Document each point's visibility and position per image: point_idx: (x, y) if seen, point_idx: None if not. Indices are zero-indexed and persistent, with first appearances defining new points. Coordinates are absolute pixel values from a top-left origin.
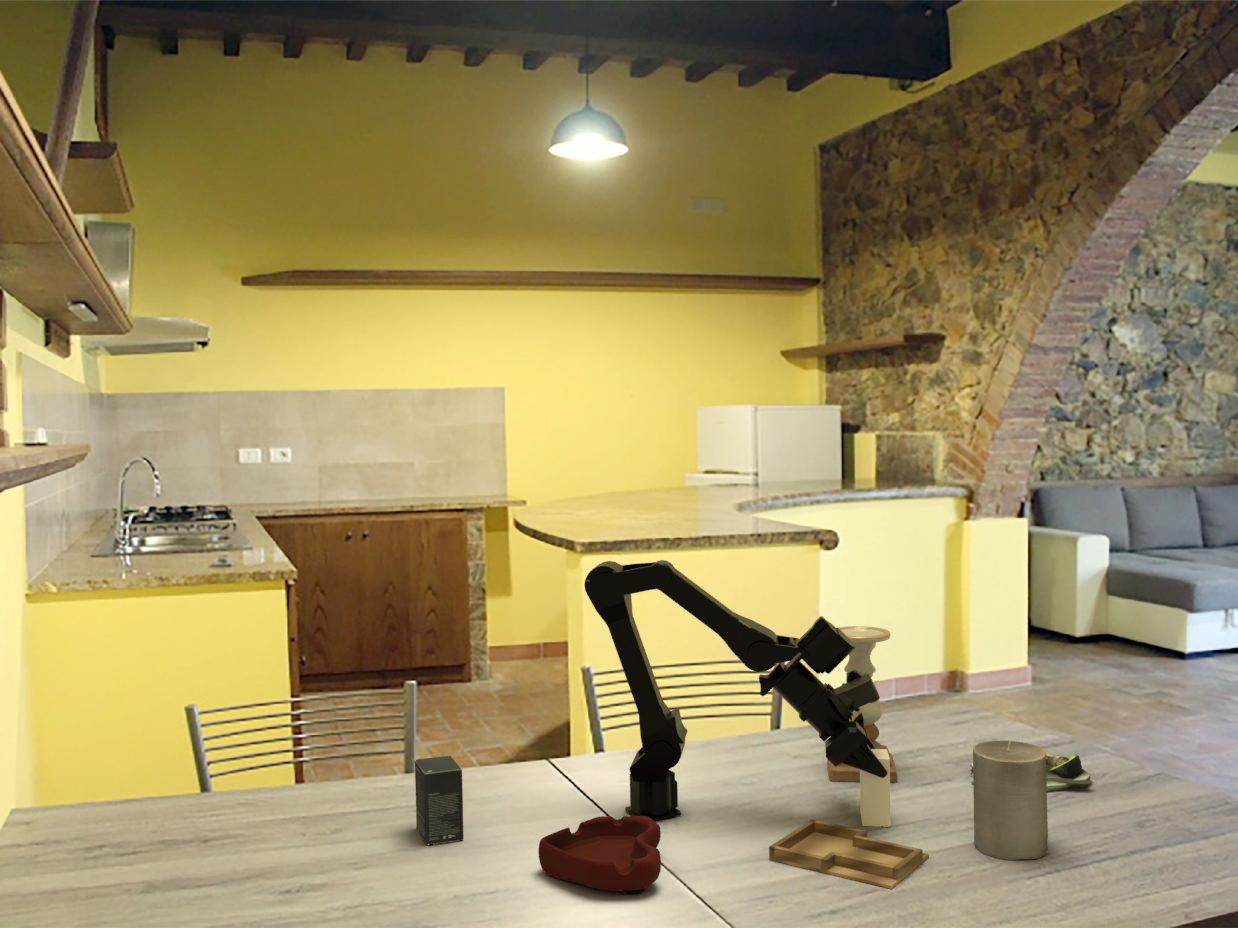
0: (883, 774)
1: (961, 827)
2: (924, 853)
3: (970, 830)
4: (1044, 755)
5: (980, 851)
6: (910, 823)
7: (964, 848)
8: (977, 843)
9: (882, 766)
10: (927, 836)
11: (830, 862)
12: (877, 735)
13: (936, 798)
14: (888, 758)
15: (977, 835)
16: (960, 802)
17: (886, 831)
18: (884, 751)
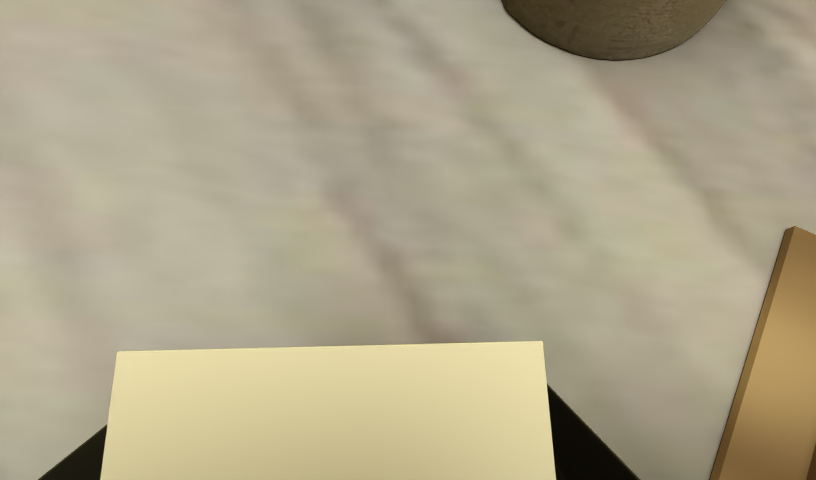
0: None
1: (426, 83)
2: (789, 243)
3: (455, 56)
4: None
5: (668, 49)
6: (402, 272)
7: (651, 96)
8: (665, 41)
9: (587, 430)
10: (551, 215)
11: None
12: None
13: (76, 139)
14: (511, 353)
15: (684, 18)
16: (133, 56)
17: None
18: (212, 387)
